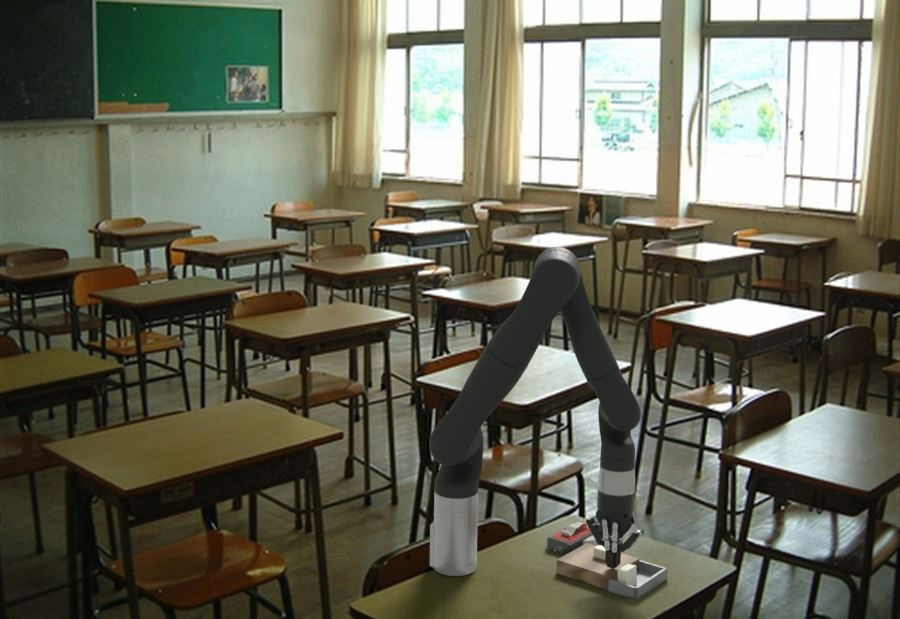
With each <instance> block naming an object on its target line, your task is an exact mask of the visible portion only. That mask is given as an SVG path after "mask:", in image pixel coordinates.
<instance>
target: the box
mask: <svg viewBox="0 0 900 619" xmlns="http://www.w3.org/2000/svg"><path fill="white" fill-rule="evenodd" d="M667 580H668V567H664V566H661V565H658V564H654V563H651V562H647V561H645V560H640V559H639V567H638V570H637V585H635V586H632V585H628V584H625V583H622V582H619V581H616V580H613V579H609V585H608V590H607V591H608V592H610V593H613V594H616V595H619V596H622V597H625V598H629V599H632V600H634V601H638V600H639V599H640V598H642V597H643V596H644V595H646V594H648V593H649V592H650V591H652V590H653V589H655V588H657V587H658V586H660V585H661V584H662V583H664V582H665V581H667Z"/></svg>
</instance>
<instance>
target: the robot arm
mask: <svg viewBox="0 0 900 619" xmlns="http://www.w3.org/2000/svg"><path fill="white" fill-rule="evenodd" d="M529 278H530V279H529V281H528V283H527V285H526V288H525V290H524V292H523V294H522V296H521V298H520V300H519V302H518V304H517V306H516V307H515V308H514V310H513V312H512V313H511V314H510V316H508V317H507V319H505V321H504V322H503V323H502V324H501V325H500V327H498V329H496V331H495V333H494V334H493V335H492V336H491V338H490V339H489V341H488V342H487V344H486V346H485V347H484V348H483V351H482V352H481V353H480V355H479V357H478V359H477V361H476V363H475V365H474V367H473V368H472V369H471V371H470V374H469V375H468V377H467V379H466V380H465V382H464V385H463V387H462V388H461V391H460V392H459V394H458V396H457V398H456V399H455V401H454V403H453V404H452V405H451V407H450V408H449V409H448V411H447V412H446V414H444V416H443V417H442V418H441V420H439V422H438V424H436V426H435V427H434V429H433V430H432V432H431V434H430V437H429V451H430V453H431V454H430V455H431V456H432V458H433V459H434V461H435V462H437V463H438V464H440V467H439V470H438V472H437V474H436V477H435V478H434V488H433V489H434V492H433V493H434V497H433V498H434V500H433V501H434V502H433V504H434V507H433V508H434V510H433V511H434V512H433V517H434V518H433V522H431V524H430V525H429V535H430V536H429V567H430V568H431V567H432V568H433V569H434V571H435V572H437V573H439V574H441V575H444V576H449V577H462V576H466V575H467V576H468V575H470V574H473V573H474V572H475V571H476V570H477V563H478V561H477V557H478V554H477V553H478V516H479V515H478V514H479V512H478V508H479V507H478V506H479V485H480V481H481V478H482V472H483V460H484V459H483V458H484V434H483V430H482V426H483V424H484V423H485V421H486V420H487V419H488V417H489V416H490V415H491V413H492V412H493V411H494V410H495V409H496V408H497V407H498V406H499V405H500V404H501V403H502V402H503V401H504V400H505V398H506V397H507V396H508V395H509V394H510V392H511V391H512V390H513V389H514V387H516V385H517V383H518V382H519V380H520V379H521V377H522V376H523V374H524V373H525V371H526V369H527V368H528V366H529V364H530V363H531V361H532V359H533V357H534V355H535V353H536V352H537V349H538V348H539V345H540V344H541V341H542V340H543V337H544V336H545V335H544V334H545V333H546V331H547V329H548V328H549V326H550V325H551V323H552V322H553V320H554V319H555V318H556V317H557V315H558V314H559V312H560V314H561V316H562V319H563V321H564V324H565V327H566V329H567V334H568V336H569V340H570V344H571V345H572V346H571V347H572V351H573V352H574V355H575V357H576V361H577V362H578V365H579V368H580V369H581V371H582V374H583V377H585V380H586V382H587V384H588V386H589V387H590V388H591V389H592V391H593V392H594V393H595V395H596V397H597V399H598V402H599V404H598V411H597V412H598V414H597V415H598V416H597V417H598V428H599V436H600V458H599V471H598V477H597V478H598V479H597V498H596V507H597V508H596V509H597V511H596V512H595V515H593V516H590V517H589V518H587V519H586V520H585V524H586V526H587V527H588V528H589V529H590V531H591V533H592V534H593V536H594V538H595V540H596V542H597V543H598V545H602V546H603V547H604V548H605V550H606V554H605V562H606V564H607V567H609V568H612V569H615V568H616V567H618V565H620V561H621V553H624V552H625V551H627V550H629V549H631V547H632V546H634V544H635V543H637V541H638V540H639V539H640V538H641V537H642V536H643V535H644V530H643V529H639V528H638V527H637V526H636V524H635V519H634V515H633V514H634V510H635V490H636V473H635V472H636V471H635V466H636V465H635V463H636V446H635V442H634V440H633V437H632V433H631V432H632V430H635V428H636V427H637V426H638V425H639V423H640V421H641V417H642V411H641V406H640V405H639V401H638V400H637V398H636V396H635V394H634V393H633V391H632V390H631V388H630V386H629V384H628V383H627V381H626V379H625V378H624V376H623V374H622V371H621V370H620V366H619V364H618V362H617V359H616V358H615V355H614V353H613V351H612V349H611V347H610V344H609V342H608V340H607V337H606V336H605V334H604V332H603V329H602V327H601V325H600V323H599V321H598V319H597V317H596V314H595V311H594V310H593V308H592V305H591V301H590V300H589V296H588V293H587V290H586V287H585V284H584V279H583V275H582V272H581V265H580V263H579V260H578V257H577V256H576V255H575V254H574V253H573V252H572V251H571V250H570V249H567V248H565V247H562V246H552V247H549V248H547V249H545V250H543V252H541V253H540V254H539V255H538V257H537V259H536V261H535V263H534V266H533V269H532V273H531V276H530V277H529ZM628 532H629V533H628ZM627 533H628V536H629V537H628V538H627V539H626V540H625V538H626V534H627ZM624 540H625V541H624Z"/></svg>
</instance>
